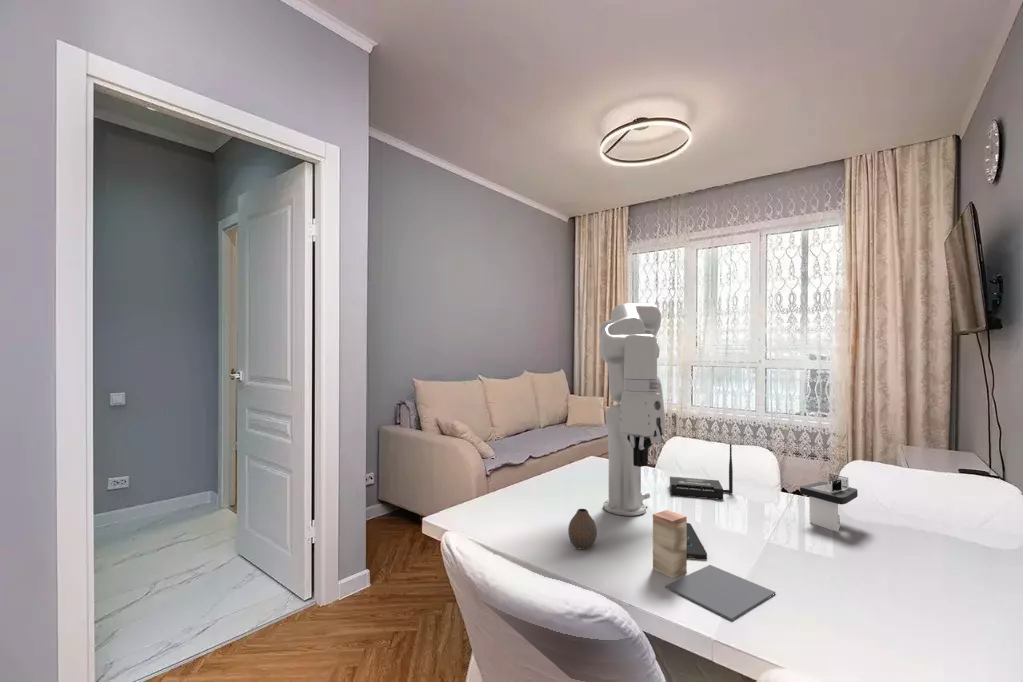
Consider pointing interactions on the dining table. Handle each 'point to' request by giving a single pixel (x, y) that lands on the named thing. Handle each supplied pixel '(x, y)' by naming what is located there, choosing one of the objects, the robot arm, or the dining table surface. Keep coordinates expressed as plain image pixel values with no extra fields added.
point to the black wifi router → (701, 485)
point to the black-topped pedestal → (828, 500)
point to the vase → (582, 530)
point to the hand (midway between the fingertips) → (640, 465)
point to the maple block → (670, 543)
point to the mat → (720, 591)
